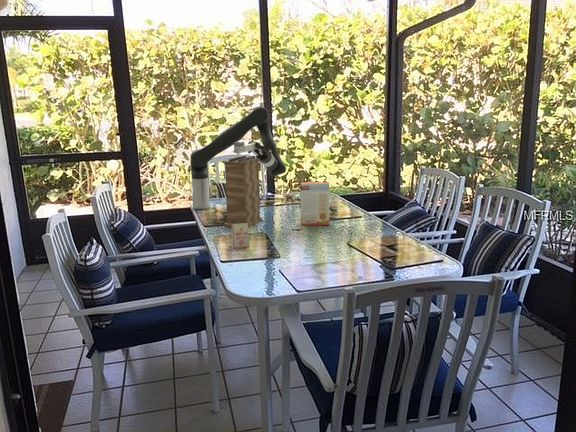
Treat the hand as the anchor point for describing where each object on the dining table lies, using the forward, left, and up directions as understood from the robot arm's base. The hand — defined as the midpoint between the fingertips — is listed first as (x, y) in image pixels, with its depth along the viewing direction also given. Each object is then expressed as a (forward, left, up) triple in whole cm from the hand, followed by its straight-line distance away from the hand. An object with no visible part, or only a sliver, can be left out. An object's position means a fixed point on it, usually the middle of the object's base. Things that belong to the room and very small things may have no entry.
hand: (252, 143), depth 252 cm
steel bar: (-3, -4, -3) cm, 6 cm away
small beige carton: (-9, -50, -39) cm, 64 cm away
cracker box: (+29, -17, -39) cm, 52 cm away
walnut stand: (-6, -10, -39) cm, 40 cm away
